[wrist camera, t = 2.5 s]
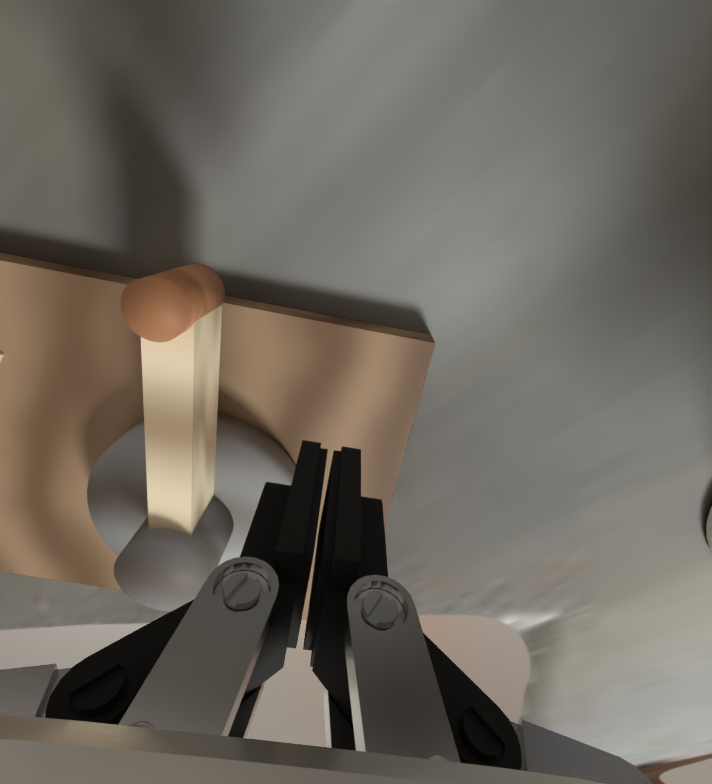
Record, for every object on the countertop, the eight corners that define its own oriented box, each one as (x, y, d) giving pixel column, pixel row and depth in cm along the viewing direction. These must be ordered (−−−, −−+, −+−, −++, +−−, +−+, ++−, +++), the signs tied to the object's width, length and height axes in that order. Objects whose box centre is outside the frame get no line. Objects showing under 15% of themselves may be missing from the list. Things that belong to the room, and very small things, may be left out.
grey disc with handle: (293, 581, 27) (274, 675, 22) (115, 552, 27) (49, 640, 21) (344, 283, 19) (332, 313, 13) (86, 232, 18) (-35, 242, 13)
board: (431, 334, 22) (435, 344, 20) (356, 609, 31) (356, 630, 29) (-65, 240, 21) (-100, 242, 19) (10, 552, 30) (-10, 571, 28)
